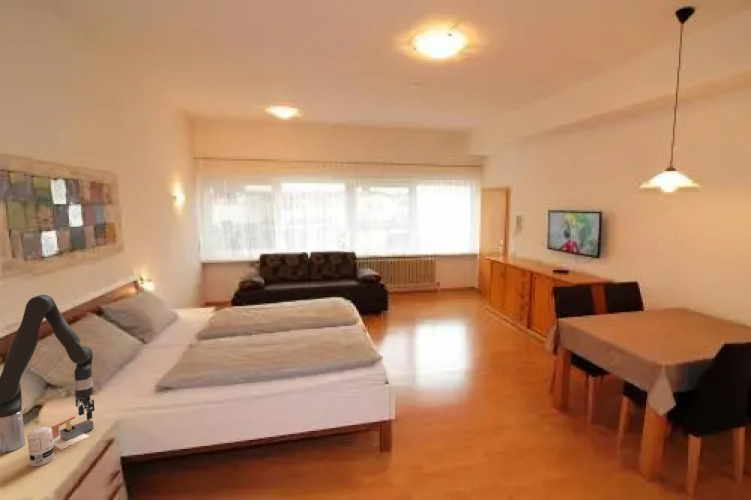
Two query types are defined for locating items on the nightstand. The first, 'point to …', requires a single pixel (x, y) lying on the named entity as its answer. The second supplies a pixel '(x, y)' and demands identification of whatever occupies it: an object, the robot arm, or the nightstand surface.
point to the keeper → (56, 427)
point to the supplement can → (40, 445)
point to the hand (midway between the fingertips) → (85, 416)
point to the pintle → (68, 426)
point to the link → (76, 430)
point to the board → (63, 444)
